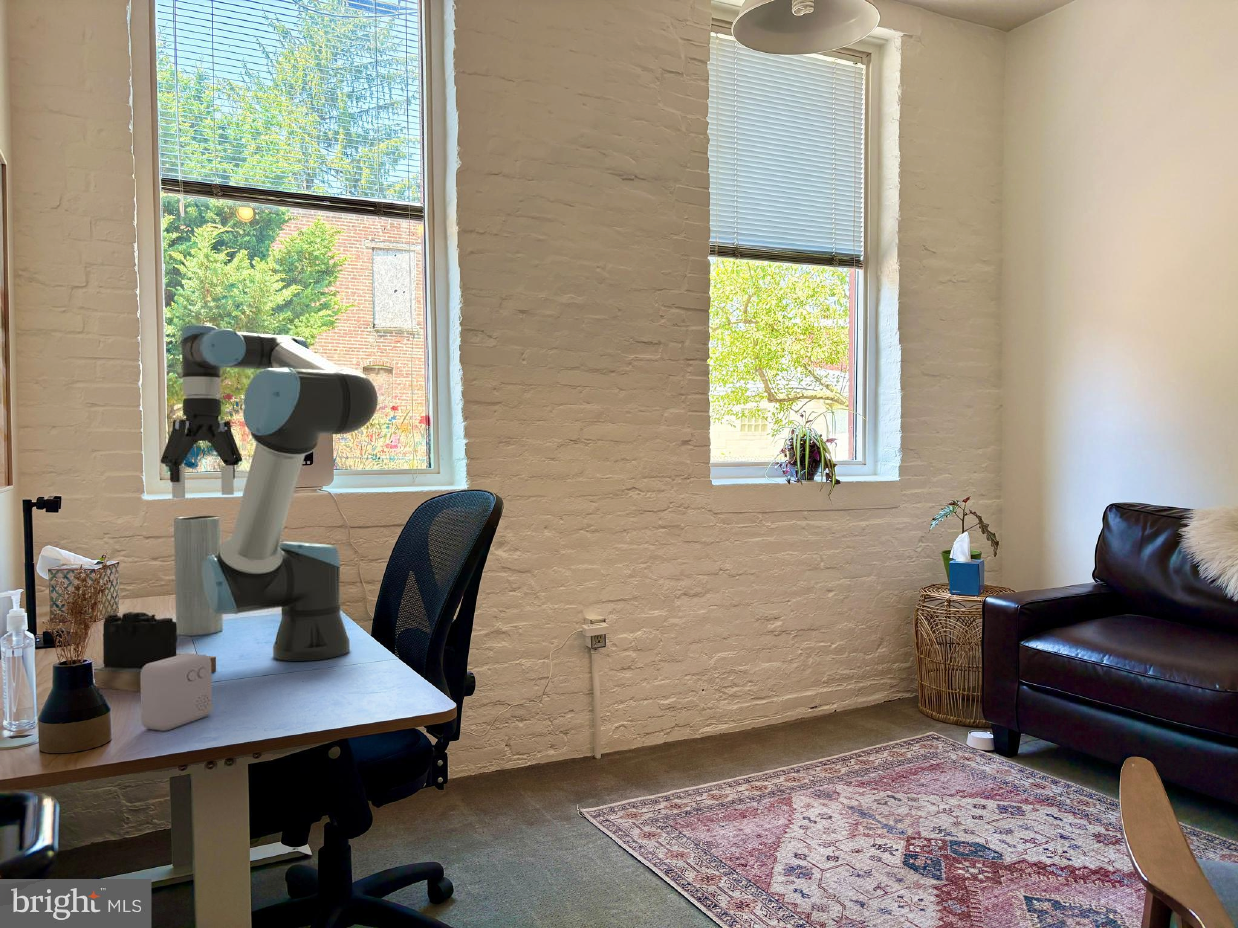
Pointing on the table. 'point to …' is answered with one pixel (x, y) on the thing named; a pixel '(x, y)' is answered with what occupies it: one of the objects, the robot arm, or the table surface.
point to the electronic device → (175, 691)
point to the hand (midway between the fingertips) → (204, 496)
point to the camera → (137, 640)
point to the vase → (195, 573)
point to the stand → (125, 676)
